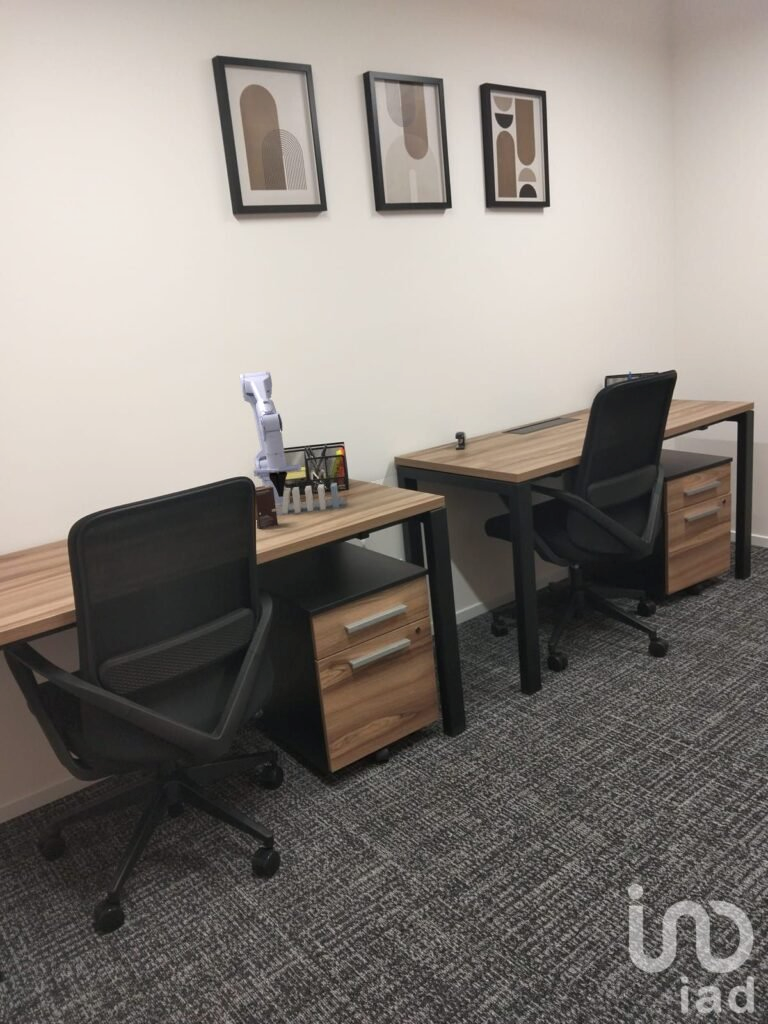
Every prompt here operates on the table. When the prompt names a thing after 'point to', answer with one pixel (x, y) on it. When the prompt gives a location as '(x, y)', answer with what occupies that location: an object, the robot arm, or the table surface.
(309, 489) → the tile
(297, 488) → the tile
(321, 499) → the tile
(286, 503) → the tile
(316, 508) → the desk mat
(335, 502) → the end tile
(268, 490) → the box
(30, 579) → the table surface
